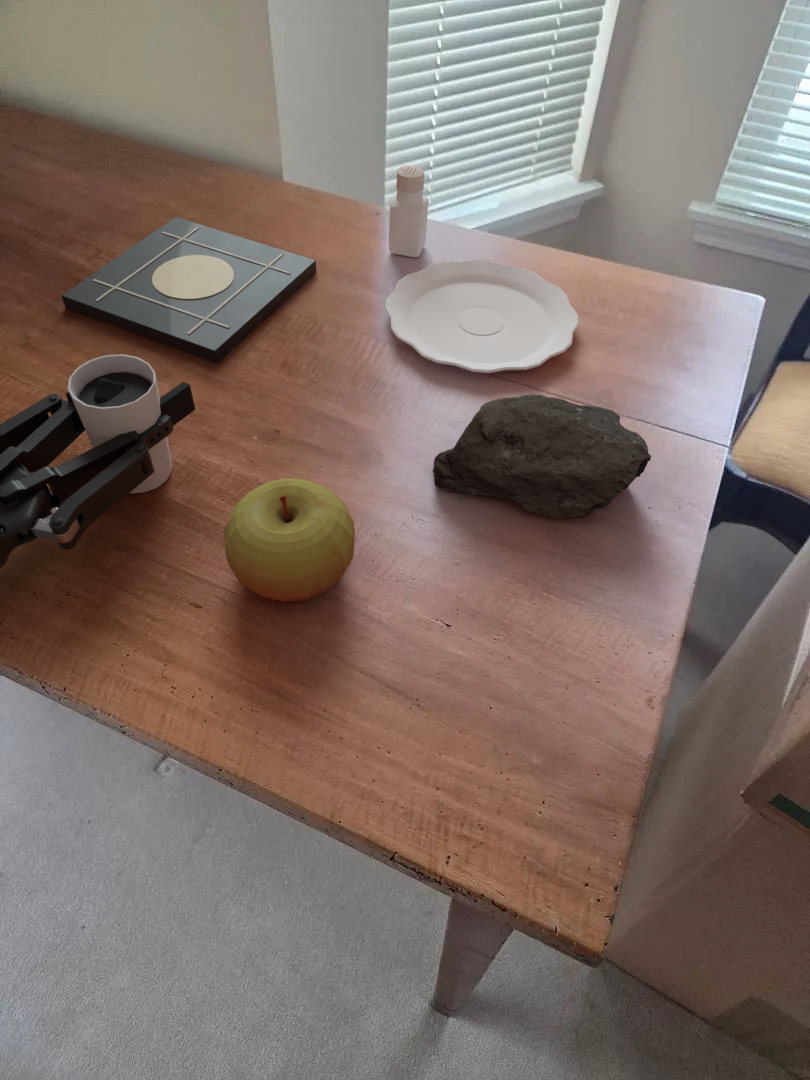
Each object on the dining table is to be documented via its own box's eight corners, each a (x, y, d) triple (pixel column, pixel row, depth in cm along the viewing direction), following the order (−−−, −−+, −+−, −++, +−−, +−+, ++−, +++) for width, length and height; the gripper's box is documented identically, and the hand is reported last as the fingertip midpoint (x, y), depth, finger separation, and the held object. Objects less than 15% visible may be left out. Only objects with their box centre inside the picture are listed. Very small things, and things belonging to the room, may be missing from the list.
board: (65, 307, 82) (60, 294, 81) (178, 228, 94) (175, 215, 93) (217, 363, 77) (214, 350, 76) (316, 271, 89) (316, 259, 87)
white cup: (90, 495, 65) (56, 406, 57) (110, 441, 69) (81, 351, 61) (168, 499, 65) (145, 411, 57) (184, 445, 69) (164, 356, 61)
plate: (421, 257, 92) (422, 244, 90) (589, 295, 88) (593, 282, 87) (358, 354, 79) (358, 341, 78) (552, 403, 75) (555, 390, 74)
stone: (437, 516, 61) (448, 392, 59) (427, 492, 70) (436, 383, 67) (652, 528, 63) (672, 408, 60) (617, 504, 71) (634, 397, 69)
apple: (288, 506, 65) (280, 438, 59) (379, 559, 62) (380, 493, 55) (207, 579, 60) (188, 512, 53) (301, 642, 56) (293, 578, 50)
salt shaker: (426, 244, 94) (431, 166, 86) (418, 260, 91) (423, 181, 84) (395, 238, 94) (398, 161, 87) (387, 254, 92) (389, 176, 84)
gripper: (-121, 535, 58) (113, 382, 71) (23, 645, 52) (249, 457, 65) (-175, 466, 52) (90, 312, 65) (-20, 581, 47) (237, 389, 59)
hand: (169, 385), depth 65 cm, fingers closed on white cup, 4 cm apart
